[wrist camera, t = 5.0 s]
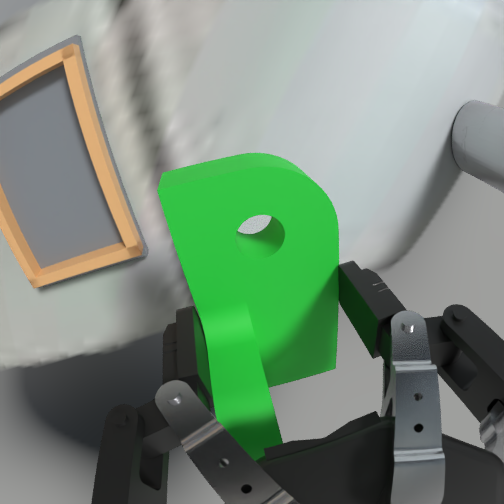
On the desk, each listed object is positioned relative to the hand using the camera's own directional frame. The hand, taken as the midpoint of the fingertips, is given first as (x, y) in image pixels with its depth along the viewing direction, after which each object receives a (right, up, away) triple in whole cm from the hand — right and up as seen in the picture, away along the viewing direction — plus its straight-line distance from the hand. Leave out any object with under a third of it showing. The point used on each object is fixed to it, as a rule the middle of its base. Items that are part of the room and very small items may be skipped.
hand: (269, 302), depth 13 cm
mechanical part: (0, +1, +2) cm, 2 cm away
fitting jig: (-18, +9, +9) cm, 22 cm away
